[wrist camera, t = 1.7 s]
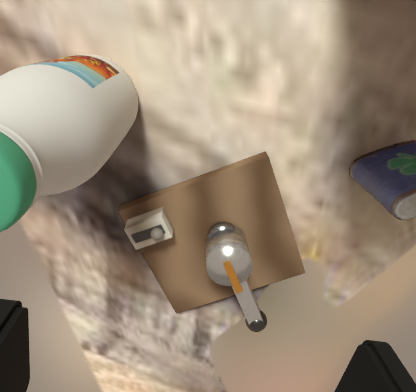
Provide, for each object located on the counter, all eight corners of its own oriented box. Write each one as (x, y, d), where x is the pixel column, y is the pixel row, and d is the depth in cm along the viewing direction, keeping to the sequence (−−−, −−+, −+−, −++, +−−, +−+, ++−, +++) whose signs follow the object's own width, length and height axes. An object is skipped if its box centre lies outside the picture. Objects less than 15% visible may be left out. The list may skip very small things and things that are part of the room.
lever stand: (265, 151, 33) (275, 168, 29) (301, 264, 40) (314, 292, 35) (120, 204, 35) (110, 228, 31) (176, 304, 42) (174, 335, 37)
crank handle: (197, 229, 35) (198, 257, 31) (237, 215, 35) (243, 242, 30) (238, 317, 41) (243, 351, 36) (273, 306, 40) (282, 340, 36)
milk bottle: (155, 88, 31) (97, 165, 12) (114, 155, 33) (17, 298, 15) (77, 33, 28) (-129, 33, 10) (40, 109, 31) (-177, 213, 13)
